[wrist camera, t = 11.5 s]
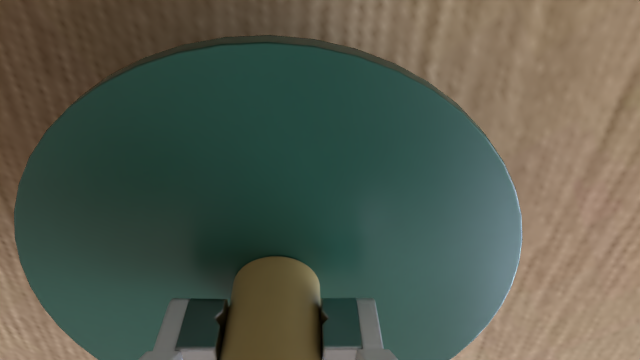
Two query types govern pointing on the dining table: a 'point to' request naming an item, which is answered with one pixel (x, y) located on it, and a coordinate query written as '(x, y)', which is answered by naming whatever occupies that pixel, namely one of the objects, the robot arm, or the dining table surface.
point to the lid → (267, 202)
